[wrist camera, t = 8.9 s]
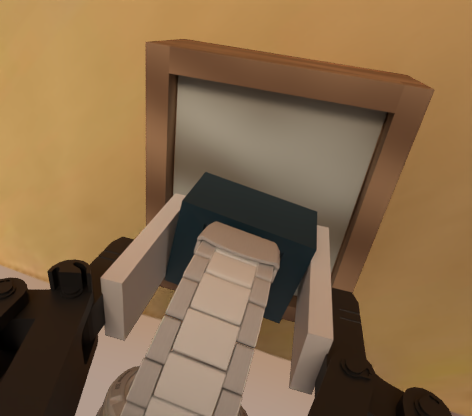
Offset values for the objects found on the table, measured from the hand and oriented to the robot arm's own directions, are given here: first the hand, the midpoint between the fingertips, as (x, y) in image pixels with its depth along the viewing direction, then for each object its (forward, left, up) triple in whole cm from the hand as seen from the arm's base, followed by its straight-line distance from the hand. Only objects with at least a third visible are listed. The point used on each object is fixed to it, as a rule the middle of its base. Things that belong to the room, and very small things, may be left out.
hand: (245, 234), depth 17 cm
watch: (0, 0, 0) cm, 1 cm away
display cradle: (0, 0, -8) cm, 8 cm away
